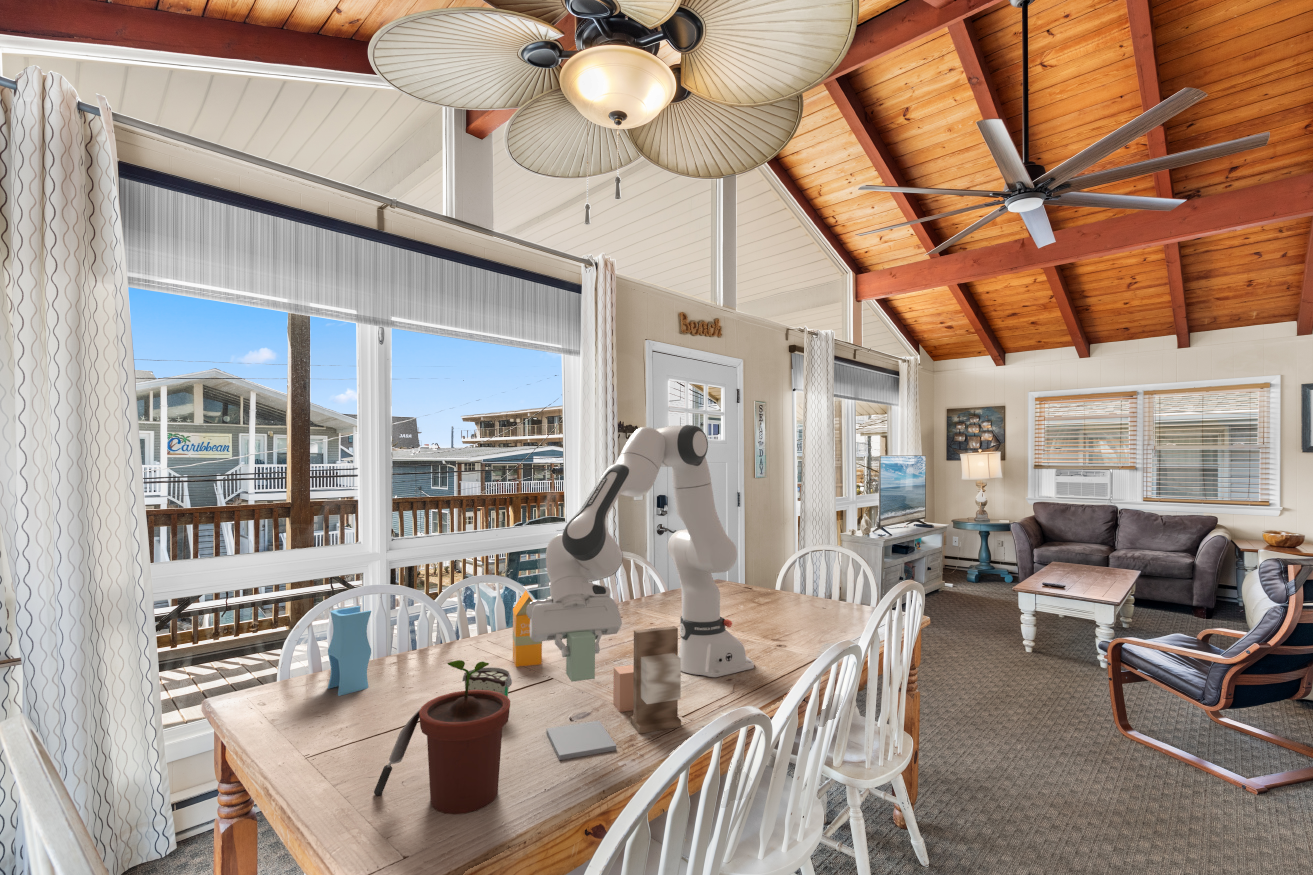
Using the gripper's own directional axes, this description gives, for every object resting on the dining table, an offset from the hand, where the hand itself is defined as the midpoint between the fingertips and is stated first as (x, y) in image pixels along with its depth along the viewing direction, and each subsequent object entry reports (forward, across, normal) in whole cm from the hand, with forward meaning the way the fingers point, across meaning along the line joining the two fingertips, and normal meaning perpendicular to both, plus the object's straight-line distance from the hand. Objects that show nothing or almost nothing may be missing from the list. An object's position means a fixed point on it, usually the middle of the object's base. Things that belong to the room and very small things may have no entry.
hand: (581, 653), depth 133 cm
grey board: (+13, 0, +14) cm, 19 cm away
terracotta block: (+3, +15, +24) cm, 28 cm away
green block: (+3, 0, +4) cm, 5 cm away
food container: (-2, -16, +29) cm, 33 cm away
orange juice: (-27, -2, +53) cm, 60 cm away
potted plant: (+21, -27, +6) cm, 34 cm away
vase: (-23, -49, +50) cm, 74 cm away
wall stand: (+11, +18, +15) cm, 26 cm away
